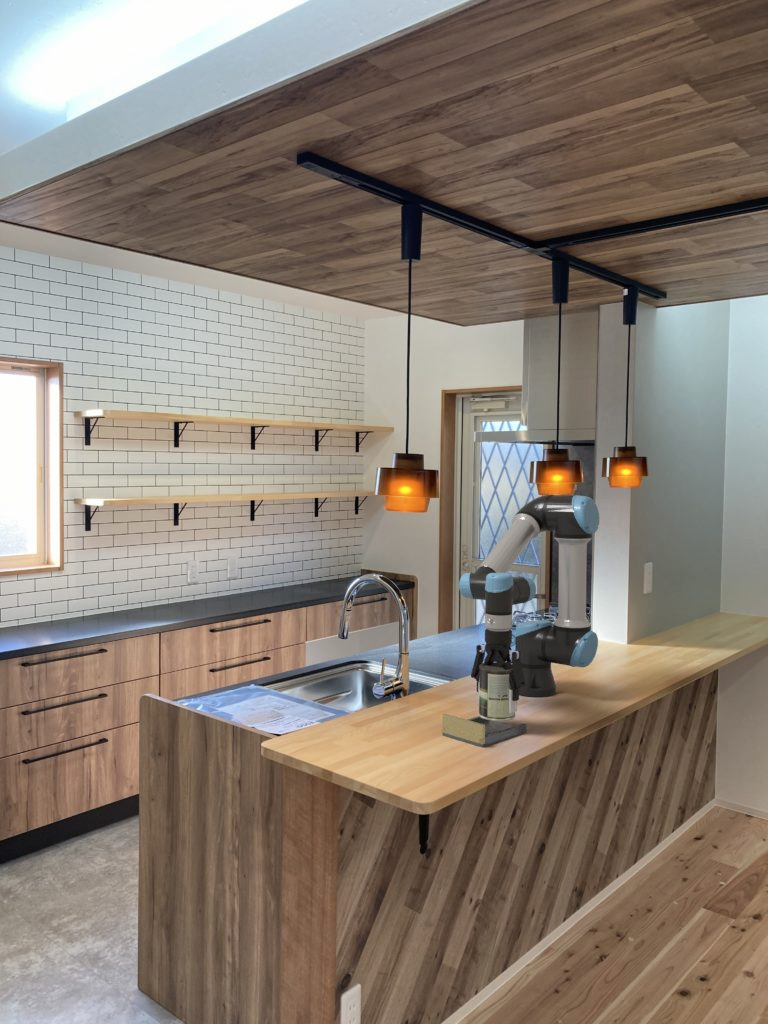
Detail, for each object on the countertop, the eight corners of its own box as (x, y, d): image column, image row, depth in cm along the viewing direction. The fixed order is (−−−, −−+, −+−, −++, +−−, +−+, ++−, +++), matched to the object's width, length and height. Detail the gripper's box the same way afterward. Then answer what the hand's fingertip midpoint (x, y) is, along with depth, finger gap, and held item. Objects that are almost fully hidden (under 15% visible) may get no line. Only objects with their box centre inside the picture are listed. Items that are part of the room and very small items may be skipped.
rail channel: (486, 721, 246) (486, 701, 246) (526, 732, 236) (526, 711, 236) (442, 735, 233) (442, 714, 233) (482, 747, 223) (482, 725, 223)
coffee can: (471, 716, 238) (472, 666, 237) (491, 709, 246) (491, 660, 245) (503, 723, 231) (503, 672, 230) (522, 715, 239) (523, 665, 238)
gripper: (458, 624, 243) (457, 702, 244) (523, 636, 227) (521, 719, 228) (475, 622, 248) (474, 697, 249) (540, 632, 232) (538, 713, 233)
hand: (497, 708), depth 238 cm, fingers closed on coffee can, 10 cm apart
